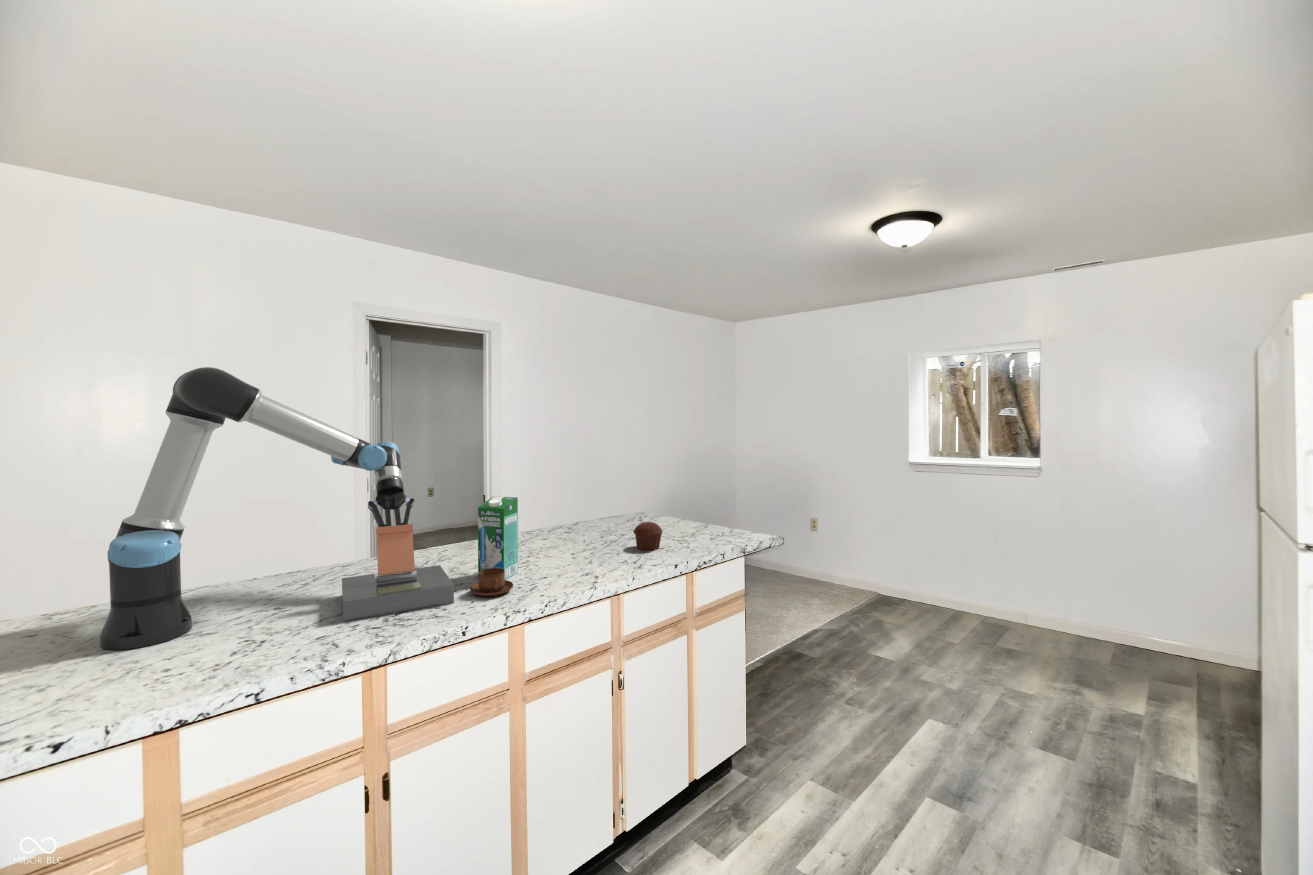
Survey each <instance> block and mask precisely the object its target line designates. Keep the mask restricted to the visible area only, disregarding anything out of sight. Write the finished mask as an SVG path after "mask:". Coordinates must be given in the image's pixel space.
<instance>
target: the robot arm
mask: <svg viewBox="0 0 1313 875" xmlns="http://www.w3.org/2000/svg"><path fill="white" fill-rule="evenodd" d="M165 414H166V416H167V417H168V418H169V421H170V422H169V424H168V427H167V430H166V431H165V434H164V436H163V439H162V441H161V445H160V446H159V449H158V452H157V454H156V457H155V459H154V461H153V465H152V467H151V470H150V472H149V475H148V478H147V479H146V480H147V481H146V483H145V485H144V488H143V490H142V494H141V495H140V498H139V500H138V503H137V505H136V508H135V510H134V513H133V514H132V515H129V516H127V517H125V518H123V519H122V521H121V523H120V526H119V528H118V531H117V533H116V536H115V538H113V539H112V540H111V541H110V542H109V545H108V550H107V561H108V569H109V570H108V571H109V596H110V597H109V599H110V610H109V613H108V615H107V617H106V619H105V623H104V624H103V628H102V630H101V632H100V635H99V646H100V647H101V649H105V650H111V651H119V650H122V651H123V650H130V649H132V650H133V649H138V648H144V647H149V646H153V645H156V644H157V645H158V644H160V643H164V642H167V641H170V640H173V639H176V638H179V637H180V636H183V635H185V634H186V633H188V632H190V631H191V630H192V628H193V618H192V616H191V613H190V612H189V610H188V608H187V606H186V604H185V602H184V601H185V600H184V599H183V597H182V577H181V576H182V575H181V568H182V567H181V549H182V544H181V538H182V535H183V533H184V530H185V526H184V524H183V523H182V522H181V520H180V519H181V517H182V515H183V511H184V509H185V507H186V504H187V502H188V498H189V495H190V492H191V491H192V489H193V485H194V484H195V479H196V477H197V475H198V472H199V470H200V466H201V463H202V462H203V459H204V456H205V453H206V451H207V448H208V446H209V443H210V440H211V437H212V434H213V432H214V431H215V430H217V429H220V428H222V427H223V426H224V423H225V421H226V419H229V420H231V421H234V422H236V423H242V422H247V423H249V424H252V425H254V426H257V427H259V428H262V429H265V430H266V431H270V432H272V433H274V434H275V435H276V434H277V435H280V436H282V437H285V438H286V439H288V440H291V441H294V442H296V443H299V444H301V445H304V446H306V447H309V448H310V449H313V450H316V451H319V452H321V453H323V454H326V455H327V456H330V460H331V463H333V464H337V465H340V466H344V467H345V466H346V467H351V468H356V469H361V470H362V469H363V470H365V471H369V472H370V471H371V472H372V471H374V474H375V485H376V486H375V487H376V497H375V499H374V500H373V501H372V500H369V501H368V502H367V508H368V509H369V511H370V512H371V513H372V515H373V518H374V520H375V523H376V525H377V527H385V526H393V525H392V517H391V511H392V510H393V513H394V521H395V522H394V523H395V526H396V525H407V524H409V519H410V515H411V509H412V508H413V506H415V498H408V497H407V494H405V488H404V480H403V472H402V466H401V465H402V464H401V463H402V462H401V454H400V449H399V446H398V445H397V444H396V443H394V442H392V441H388V440H386V441H380V442H378V443H377V444H375V443H370V442H368V441H365V440H363V439H361V438H358V437H357V436H354V435H353V434H350V433H347V432H345V431H343V430H342V429H339V428H337V427H335V426H332V425H330V424H328V423H326V422H323V421H322V420H318V419H316V418H314V417H312V416H310V415H309V414H305V413H304V412H301V411H299V410H296V409H294V408H292V407H290V406H288V405H285V404H283V403H280V402H278V401H277V400H274V399H272V398H269V397H268V396H265V395H263V393H262V390H261V389H260V388H257V387H255V386H253V385H252V384H249V383H247V382H245V381H243V380H241V379H240V378H238V377H236V376H234V375H232V374H231V373H229V372H228V371H225V370H222V369H219V368H217V367H210V366H209V367H208V366H207V367H206V366H204V367H198V368H195V369H192V370H189V371H187V372H184V373H183V374H181V375H180V376H179V377H178V378H177V379H176V380H175V382H174V384H173V387H172V395H171V397H170V400H169V402H168V404H167V407H166V410H165ZM404 503H405V506H406V508H405V511H404V518H403V522H402V520H401V518H402V517H401V512H400V510H401V509H400V508H401V507H402V506H403V505H404ZM378 506H379V507H381V508H382V509H383V510H384V516H385V517H384V518H385V522H384V519H383V517H382V515H381V512H380V510H379V508H378Z"/></svg>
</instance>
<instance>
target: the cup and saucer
mask: <svg viewBox="0 0 1313 875" xmlns="http://www.w3.org/2000/svg"><path fill="white" fill-rule="evenodd" d="M513 586H514V583H513V582H512V581H510V580H508V579H506V580H505V570H504V569H501V568H489V569H484V570H481V571H479V578H478V582H476V583H475V582H474V583H473V584H471V586H470V588H469V590H470V592H471V593H473V594H474V595H477V596H481V597H495V596H501V595H504V594H506V593H507V592H509V591H510V590H512V589H513Z"/></svg>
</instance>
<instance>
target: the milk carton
mask: <svg viewBox="0 0 1313 875" xmlns="http://www.w3.org/2000/svg"><path fill="white" fill-rule="evenodd" d="M518 500H519V497H518V496H516V497H515V496H514V497H513V496H494V495H493V496H491V497H490V498H488V499H487V500H486V501H485V502H483V503H482V504H480V505H479V506H478V507H477V570H478V571H477V579H479V571H481V570H484V569H489V568H501V569H504V570H505V580H508V579H509V578H511V577H512V576H515V575H516V574H518V571H519V557H518V556H519V551H518V550H519V549H518V548H519V544H518V543H519V538H518V536H519V535H518V534H519V520H518V519H519V518H518V516H519V515H518V514H519V513H518V512H519V510H518V509H519V508H518V507H519V506H518V505H519V504H518V503H519V502H518Z"/></svg>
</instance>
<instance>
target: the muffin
mask: <svg viewBox="0 0 1313 875" xmlns="http://www.w3.org/2000/svg"><path fill="white" fill-rule="evenodd" d="M632 532H633V534H634V537H635V543H636V549H637V550H639V549H640V551H645V552H647V551H649V552H650V551H656V550H660V543H661V539H662V538H661V537H662V534H663V529H662V528H661V526H660V525H659V524H657V523H656V522H653V521H644V522H640V523H639V524H637V525H636V527H635V528H634V530H633V531H632Z"/></svg>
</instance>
